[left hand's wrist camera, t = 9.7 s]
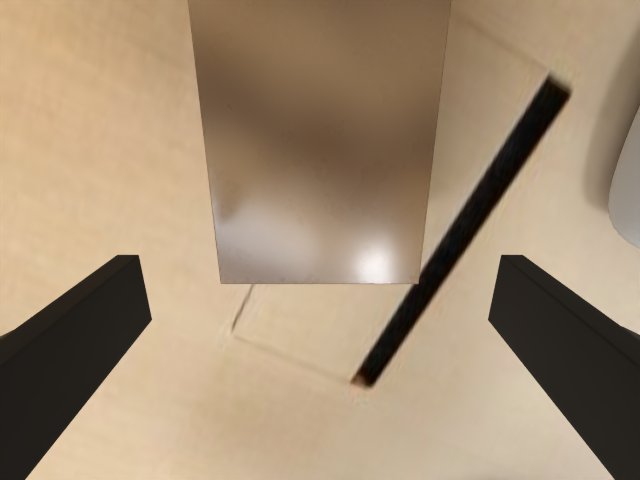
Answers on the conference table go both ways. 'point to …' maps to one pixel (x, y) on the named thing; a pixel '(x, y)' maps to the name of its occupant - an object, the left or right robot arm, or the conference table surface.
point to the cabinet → (319, 135)
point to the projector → (627, 188)
